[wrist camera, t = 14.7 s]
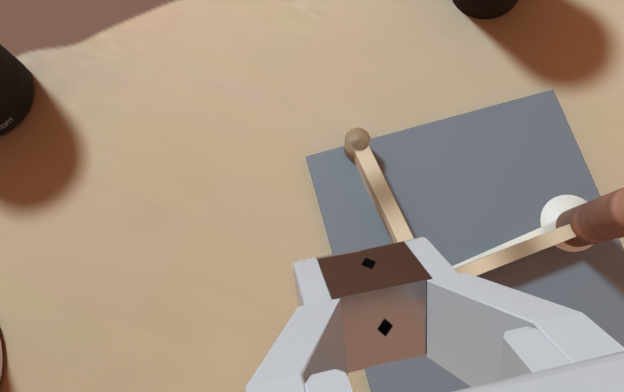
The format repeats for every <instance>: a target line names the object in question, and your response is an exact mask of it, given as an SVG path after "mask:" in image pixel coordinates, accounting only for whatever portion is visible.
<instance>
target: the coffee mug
mask: <svg viewBox="0 0 624 392" xmlns="http://www.w3.org/2000/svg"><path fill="white" fill-rule="evenodd" d="M517 1H518V0H453V2H454V4H455V5H456V6H457V8H458V9H460V10H461V11H462V12H463V13H465V14H467V15H469V16H472V17H474V18H479V19H492V18H497V17H499V16H502V15H504V14H505V13H507V12H508V11H509V10H511V9H512V8H513V6H514V5H515V4H516V3H517Z"/></svg>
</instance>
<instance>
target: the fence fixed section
mask: <svg viewBox="0 0 624 392" xmlns="http://www.w3.org/2000/svg"><path fill="white" fill-rule="evenodd" d="M369 144H370V136H369V134H368V133H367V131H365V130H364V129H361V128H354V129H351V130H350V131H348V133H347V134H346V136H345V148H344V152H345V155H346V157H347V158H348V159H350V160H352V161H354V163H355V165H356V167H357V169H358V172H359V174H360V176H361V178H362V180H363V182H364V184H365V186H366V188H367V191H368V193H369V195H370V197H371V199H372V201H373V203H374V205H375V208H376V210H377V212H378V214H379V216H380V218H381V220H382V222H383V224H384V227H385V229H386V231H387V233H388V235H389V237H390V239H391V241H392V244H393V243H398V242H402V241H406V240H411V239H414V238H413V236H412V234H411V232H410V230H409V227H408V225H407V223H406V221H405V219H404V217H403V215H402V213H401V211H400V209H399V207H398V205H397V203H396V201H395V199H394V197H393V195H392V192H391V190H390V188H389V186H388V184H387V182H386V180H385V178H384V176H383V174H382V172H381V170H380V168H379V166H378V164H377V162H376V160H375V157H374V155H373V153H372V151H371V149H370V147H369Z"/></svg>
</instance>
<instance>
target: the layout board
mask: <svg viewBox="0 0 624 392" xmlns="http://www.w3.org/2000/svg"><path fill="white" fill-rule="evenodd" d="M369 147H370V149H371V151H372V153H373V155H374V157H375V160H376V162H377V164H378V166H379V168H380V170H381V172H382V174H383V176H384V178H385V180H386V182H387V184H388V186H389V188H390V190H391V192H392V195H393V197H394V199H395V201H396V203H397V205H398V207H399V209H400V211H401V213H402V215H403V217H404V219H405V221H406V223H407V225H408V227H409V230H410V232H411V234H412V236H413V238H414V239H415V238H419V237H425V238H427V239H428V240H429V242H430V243H431V244H432V245H433V246H434V247H435V248H436V249H437V250H438V251H439V253H440V254H441V255H442V256H443V257H444V258H445V259H446V260H447V261H448V262H449V263H450V265H451V266H452V267H453V268H457V267H459V266H462V265H464V264H467V263H470V262H472V261H475V260H477V259H480V258H482V257H485V256H487V255H490V254H492V253H495V252H498V251H500V250H503V249H505V248H508V247H510V246H513V245H515V244H518V243H521V242H523V241H526V240H528V239H531V238H533V237H536V236H538V235H541V234H543V233H546V232H549V231H551V230H554V229H556V220H557V218H558V216H559V215H560V214H561V213H563V212H564V211H567V210H569V209H571V208H574V207H576V206H579V205H581V204H584V203H586V202H589V201H591V200H594V199H596V198H599V197H600V194H599V192H598V190H597V188H596V185H595V183H594V181H593V179H592V176H591V174H590V172H589V169H588V167H587V165H586V163H585V160H584V158H583V156H582V154H581V151H580V149H579V147H578V145H577V142H576V140H575V138H574V136H573V133H572V131H571V129H570V126H569V124H568V122H567V120H566V117H565V115H564V113H563V111H562V108H561V106H560V104H559V102H558V99H557V97H556V95H555V93H554V90H550V91H546V92H542V93H539V94H535V95H531V96H528V97H524V98H520V99H516V100H513V101H509V102H505V103H502V104H498V105H494V106H491V107H487V108H483V109H480V110H476V111H472V112H469V113H465V114H461V115H457V116H454V117H450V118H446V119H443V120H439V121H435V122H432V123H428V124H424V125H421V126H417V127H413V128H410V129H406V130H402V131H398V132H395V133H391V134H387V135H384V136H380V137H376V138H373V139H370V144H369ZM344 148H345V146H343V147H339V148H336V149H332V150H328V151H325V152H321V153H317V154H314V155H310V156H306V159H307V163H308V166H309V170H310V174H311V177H312V181H313V184H314V188H315V192H316V195H317V199H318V202H319V206H320V210H321V213H322V217H323V220H324V224H325V228H326V231H327V235H328V238H329V242H330V246H331V249H332V253H333V255H334V254H340V253H345V252H351V251H357V250H360V251H361V250H365V249H370V248H374V247H379V246H384V245H388V244H392V241H391V239H390V237H389V235H388V233H387V231H386V229H385V227H384V224H383V222H382V220H381V218H380V216H379V214H378V212H377V210H376V208H375V205H374V203H373V201H372V199H371V197H370V195H369V193H368V191H367V188H366V186H365V184H364V182H363V180H362V178H361V176H360V174H359V172H358V169H357V167H356V165H355V163H354V161H352V160H350V159H348V158H347V157H346V155H345V152H344ZM477 277H480V278H483V279H486V280H489V281H492V282H495V283H498V284H500V285H503V286H506V287H509V288H512V289H515V290H518V291H521V292H524V293H527V294H530V295H533V296H536V297H538V298H541V299H544V300H547V301H550V302H553V303H556V304H559V305H562V306H565V307H568V308H571V309H573V310H576V311H579V312H582V313H584V314H585V315H586V316H587V317H588V318H590V319H591V320H592V321H593V322H594V323H595V324H597V325H598V326H599V327H600V328H601V329H603V330H604V331H605V332H606V333H607V334H608V335H610V336H611V337H612V338H613V339H614V340H616V341H617V342H618V343H619V344H620V345H622V346H623V347H624V249H623V246H622V244H621V242H620V240H619V238H617V239H613V240H609V241H604V242H600V243H596V244H591V245H587V246H583V247H573V246H570V245H568V244H566V243H564V242H561V243H559V244H556V245H553V246H551V247H548V248H546V249H543V250H541V251H538V252H536V253H533V254H531V255H528V256H525V257H523V258H520V259H518V260H515V261H513V262H510V263H508V264H505V265H503V266H500V267H498V268H495V269H492V270H490V271H487V272H485V273H482V274H480V275H477ZM365 371H366V375H367V379H368V382H369V386H370V389H371V392H453V391H457V390H462V389H466V388H470V387H471V386H469V385H468V384H466V383H465V382H463V381H462V380H460V379H459V378H457V377H456V376H454V375H453V374H451V373H450V372H449V371H447V370H446V369H444V368H443V367H441V366H440V365H438V364H437V363H435V362H434V361H432V360H431V359H429V358H428V357H427V355H424V356H419V357H414V358H409V359H404V360H399V361H394V362H389V363H384V364H380V365H376V366H373V367H369V368H365Z"/></svg>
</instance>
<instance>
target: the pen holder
mask: <svg viewBox="0 0 624 392" xmlns="http://www.w3.org/2000/svg"><path fill="white" fill-rule="evenodd" d="M32 99H33V81H32V78H31V75H30V73H29V71H28V70H27V68H26V67H25V66H24V65H23V64H22V63H21V62H20V61H19V60H18V59H17V58H15V57H14V56H13V55H12V54H11V53H10V52H8V51H7V50H6V49H5V48H4V47H3V46H2V45H0V135H2V134H4V133H6V132H8V131H10V130H11V129H13V128H14V127H15V126H17V125H18V124H19V123H20V122H21V120H22V119H23V118H24V117H25V115H26V114H27V112H28V110H29V108H30V106H31V103H32Z"/></svg>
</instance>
